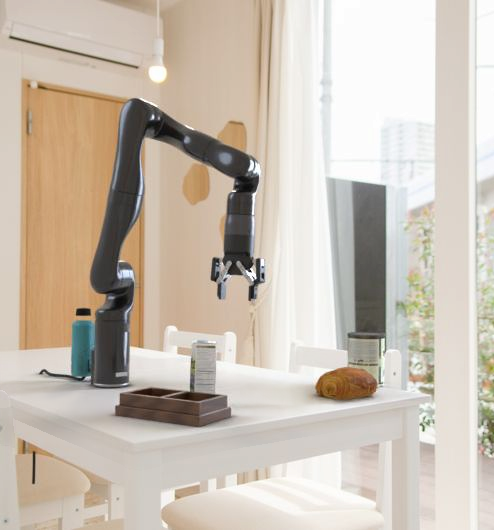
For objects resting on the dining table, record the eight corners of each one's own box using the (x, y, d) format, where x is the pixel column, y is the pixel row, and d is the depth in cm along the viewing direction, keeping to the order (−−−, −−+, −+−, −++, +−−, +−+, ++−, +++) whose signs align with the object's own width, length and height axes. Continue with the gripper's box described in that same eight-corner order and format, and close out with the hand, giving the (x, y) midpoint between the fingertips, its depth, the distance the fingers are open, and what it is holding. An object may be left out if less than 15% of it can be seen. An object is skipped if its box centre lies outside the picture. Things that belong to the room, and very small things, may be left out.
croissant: (386, 405, 172) (390, 373, 173) (341, 402, 163) (346, 368, 163) (345, 395, 184) (349, 365, 184) (301, 392, 174) (305, 360, 175)
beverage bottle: (88, 382, 188) (89, 308, 188) (65, 381, 189) (67, 308, 189) (98, 379, 194) (100, 307, 194) (76, 378, 195) (77, 307, 196)
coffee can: (342, 381, 196) (343, 331, 196) (378, 381, 198) (378, 331, 198) (352, 387, 186) (353, 334, 186) (389, 387, 187) (390, 334, 188)
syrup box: (189, 403, 160) (190, 339, 160) (215, 403, 160) (216, 340, 160) (189, 407, 154) (190, 342, 154) (216, 407, 154) (217, 342, 155)
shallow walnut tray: (114, 415, 145) (115, 393, 145) (150, 406, 155) (150, 385, 155) (199, 426, 135) (199, 403, 135) (231, 416, 145) (231, 394, 145)
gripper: (272, 235, 170) (269, 301, 170) (223, 235, 177) (220, 298, 177) (257, 233, 164) (254, 302, 163) (206, 232, 171) (203, 298, 170)
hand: (236, 300), depth 170 cm, fingers open, 8 cm apart
